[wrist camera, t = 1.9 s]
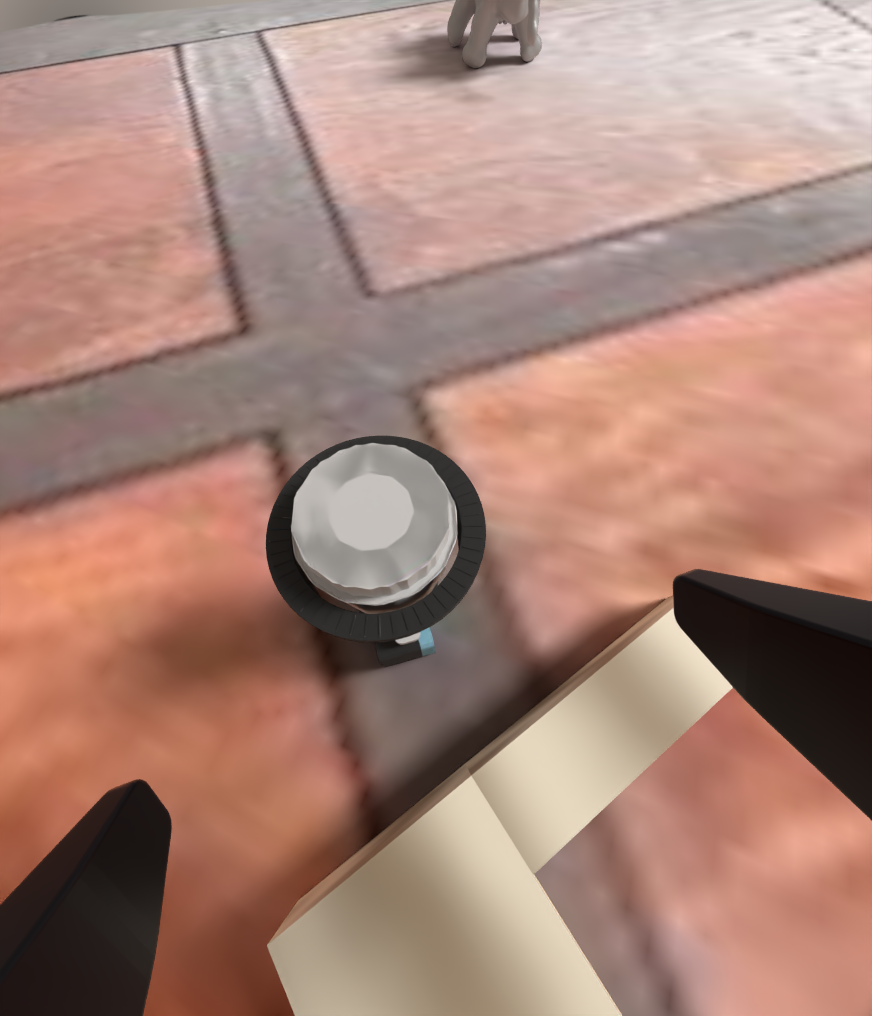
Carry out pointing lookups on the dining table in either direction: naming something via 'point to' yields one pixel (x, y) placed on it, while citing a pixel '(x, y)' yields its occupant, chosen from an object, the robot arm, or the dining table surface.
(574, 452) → the dining table surface
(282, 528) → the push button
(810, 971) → the dining table surface
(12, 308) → the dining table surface
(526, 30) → the elephant statuette
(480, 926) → the notched board
